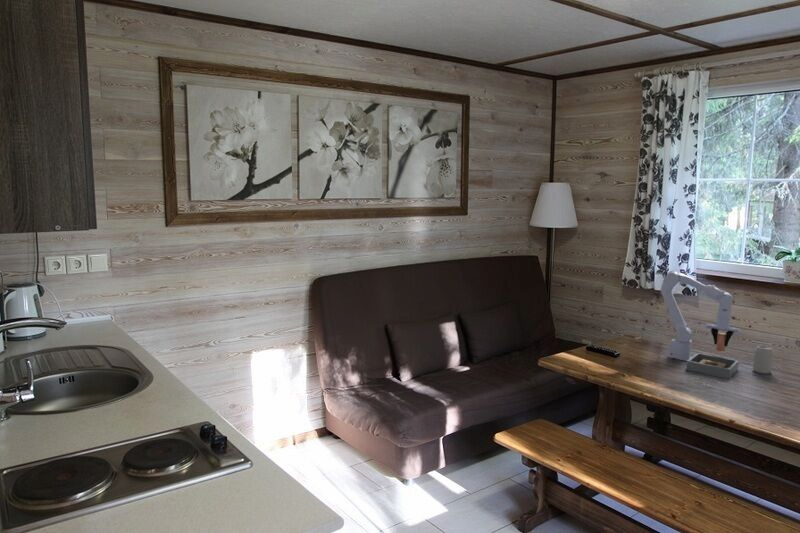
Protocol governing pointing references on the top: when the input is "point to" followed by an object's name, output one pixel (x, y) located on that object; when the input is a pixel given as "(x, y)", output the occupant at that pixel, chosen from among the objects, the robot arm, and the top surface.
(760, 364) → the can
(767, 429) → the top surface
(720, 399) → the top surface
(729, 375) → the box
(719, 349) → the peg
